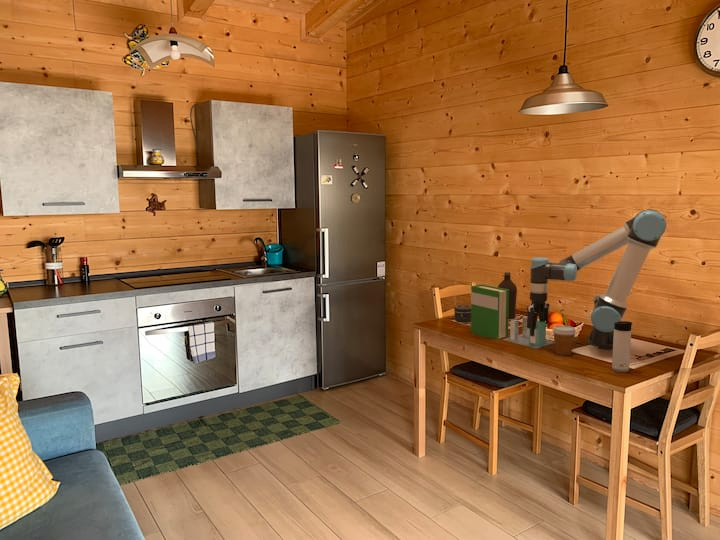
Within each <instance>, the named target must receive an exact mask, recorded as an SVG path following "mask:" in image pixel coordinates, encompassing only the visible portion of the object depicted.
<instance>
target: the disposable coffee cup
mask: <svg viewBox="0 0 720 540" xmlns="http://www.w3.org/2000/svg"><path fill="white" fill-rule="evenodd" d="M552 333H553V337H554V338H553V339H554V341H553V342H555V343H554V350H555V354H556V355H561V356H570V355H572V351H573V347H574V346H573V345H574V340H575V335H576V333H577V331H576V329H575V327H574V326H571V325H563V324H562V325H555V326H554V327H553V329H552Z"/></svg>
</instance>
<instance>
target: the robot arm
mask: <svg viewBox="0 0 720 540" xmlns="http://www.w3.org/2000/svg"><path fill="white" fill-rule="evenodd" d="M666 230H667V220H666V218H665V216H664V214H662V213H661V212H660V211H658V210H657V209H653V208H652V209H648V208H647V209H644V210H642V211H640V212H638V214H637V215H635V216H634V217H632V218H631V219H629V220H627V221H626V222H624V225H623V226H621V227H620V228H619V227H618V229H617V230H615V231H612V232H611V233H609V234H607V235H606V236H604V237H602V238H599V239H597V240H596V241H594V242H593V243H591V244H589V245H587V246H585V247H584V248H582V249H581V250H578V251H577V252H574V253H573V254H571V255H569V256H568V257H566V258H563V259H561V260H559V262H550V261H549V258H548V257H542V256H540V257H533V258H532V259H531V261H530V274H529V275H530V279H529V282H530V285H529V286H530V287H529V289H530V291H529V300H530V301H531V304H530V306H527V307H526V311H527V312H526V313H527V316H526V317H527V328H529V329H530V342H531V343H535V344H536V331H537V329H535V328H536V323H537V320H539V321H543V322H546V328H548V325H549V309H550V303H547V301H548V291H549V287H548V286H549V284H548V283H549V280H554V281H566V282H569V281H572V282H574V281H576V279H577V278H578V277H577V276H578V271H580V270H582V269H584V268H585V267H588V265H590V264H592V263H595V262H596V261H598V260H600V259H602V258H604V257H605V256H608V255H609V254H611V253H613V252H615V251H618V250H619V249H621V248H623V247H625V246H626V248H625V250H624V252H623V255H622V256H621V259H620V261H619V262H618V266H617V267H616V269H615V272H614V274H613V276H612V278H611V280H610V282H609V285H608V287H607V289H606V290H605V292H604V293H603V294H597V295H595V296H594V299H593V309H592V312H591V314H590V321H591V324H592V330H591V332H590V334H589V337H588V339H587V340H588V342H587V343H588V345H591V346H594V347H595V348H596V347H597V349H600V350H610V351H611V350H612V351H613V337H614V323H616V322H619V321H622V319H623V318H624V315H625V313H626V310H627V309H628V305H627V299H628V297H629V295H630V293H631V291H632V289H633V287H634V285H635V283H636V281H637V278H638V276H639V274H640V273H641V270H642V268H643V266H644V264H645V262H646V259H647V257H648V255H649V253H650V252H651V250H653V249H656V247H657V246H658V244H659V242H660V240H661V237H662V236H663V235H664V234H665V232H666Z"/></svg>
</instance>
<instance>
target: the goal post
mask: <svg viewBox="0 0 720 540" xmlns="http://www.w3.org/2000/svg"><path fill="white" fill-rule="evenodd" d="M521 325H522V331H521V332H522V333H521V334H522V336H519V337H522V338H526V339H528V338H529V328H527V316H523V317H522V324H521Z"/></svg>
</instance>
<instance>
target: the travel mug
mask: <svg viewBox="0 0 720 540" xmlns="http://www.w3.org/2000/svg"><path fill="white" fill-rule="evenodd" d="M632 326H633V322H632V321H629V320H625V321H624V320H621V321H619V322H616V323H614V337H613V350H612V360H611V361H612V362H611V370H613V372H617V373H629V371H630V361H631V344H632Z"/></svg>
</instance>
